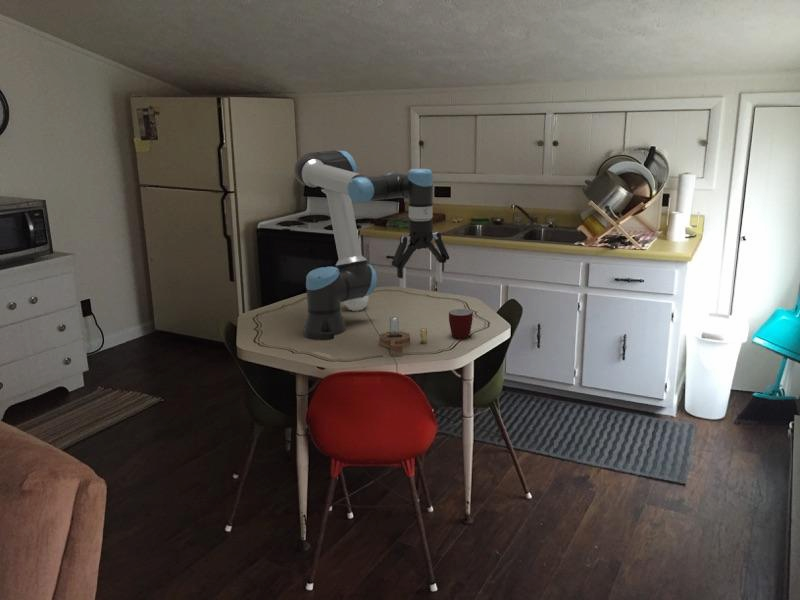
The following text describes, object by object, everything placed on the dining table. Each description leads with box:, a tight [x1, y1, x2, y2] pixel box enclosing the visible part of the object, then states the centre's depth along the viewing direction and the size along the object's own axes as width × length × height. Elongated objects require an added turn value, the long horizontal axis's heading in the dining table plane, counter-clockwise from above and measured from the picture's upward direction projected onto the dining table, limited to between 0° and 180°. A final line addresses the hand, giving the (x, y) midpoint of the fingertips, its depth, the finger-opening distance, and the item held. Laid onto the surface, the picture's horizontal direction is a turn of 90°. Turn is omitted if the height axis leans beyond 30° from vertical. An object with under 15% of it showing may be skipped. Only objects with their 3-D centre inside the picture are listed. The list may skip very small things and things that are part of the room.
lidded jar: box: [343, 295, 370, 312], centre depth 277 cm, size 11×11×9 cm
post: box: [389, 316, 400, 338], centre depth 231 cm, size 3×3×9 cm
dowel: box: [419, 327, 428, 345], centre depth 231 cm, size 2×2×5 cm
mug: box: [448, 308, 474, 340], centre depth 238 cm, size 11×8×10 cm
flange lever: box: [379, 330, 411, 358], centre depth 228 cm, size 18×10×4 cm, turn 3°
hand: (421, 284), depth 222 cm, fingers open, 13 cm apart
